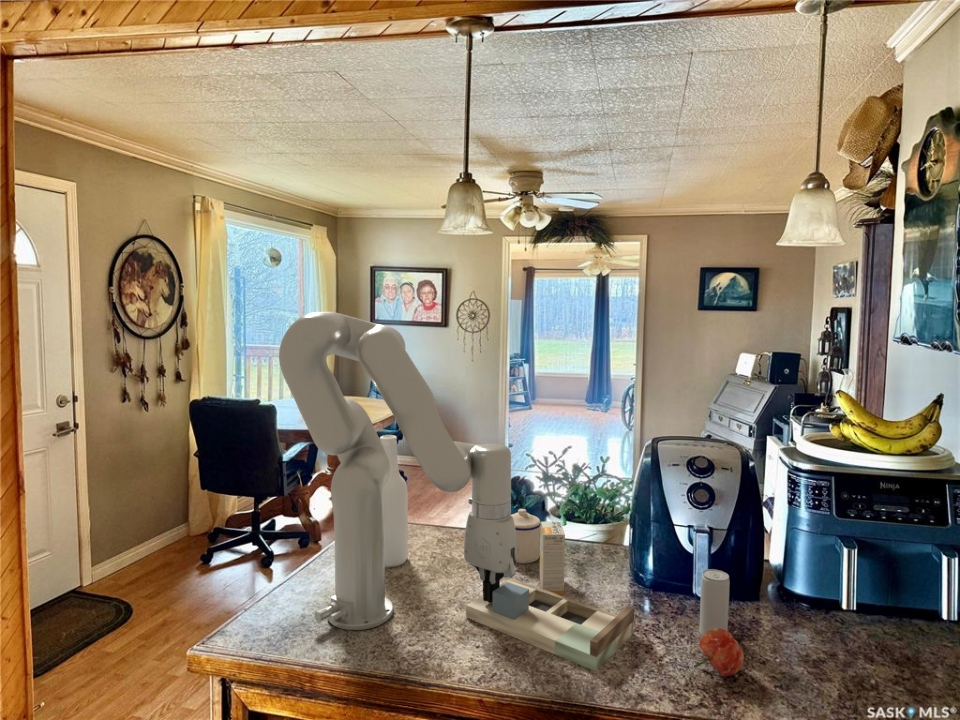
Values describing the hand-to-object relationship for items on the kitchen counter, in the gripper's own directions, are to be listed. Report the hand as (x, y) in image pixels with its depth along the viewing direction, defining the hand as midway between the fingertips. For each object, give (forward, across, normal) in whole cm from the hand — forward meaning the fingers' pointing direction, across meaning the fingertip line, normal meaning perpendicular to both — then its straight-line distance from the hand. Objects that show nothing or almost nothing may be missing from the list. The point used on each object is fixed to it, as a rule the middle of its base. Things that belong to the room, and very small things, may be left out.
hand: (491, 599), depth 119 cm
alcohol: (+3, -34, +5) cm, 35 cm away
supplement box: (+4, +3, +18) cm, 19 cm away
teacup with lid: (+4, -12, +26) cm, 29 cm away
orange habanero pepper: (+4, +41, +9) cm, 42 cm away
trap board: (+3, +11, +4) cm, 12 cm away
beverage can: (+4, +37, +19) cm, 42 cm away
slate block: (+1, +5, 0) cm, 5 cm away
